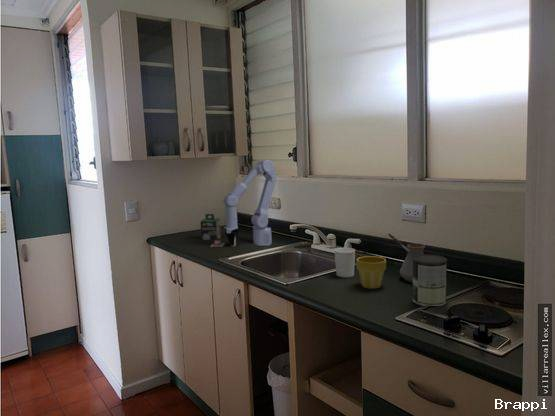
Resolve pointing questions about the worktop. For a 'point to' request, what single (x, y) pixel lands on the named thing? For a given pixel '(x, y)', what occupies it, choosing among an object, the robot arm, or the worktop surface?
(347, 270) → the white cup
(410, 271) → the coffee pot
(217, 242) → the button
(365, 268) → the plant pot
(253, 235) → the robot arm
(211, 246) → the button housing
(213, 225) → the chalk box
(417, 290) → the coffee can
